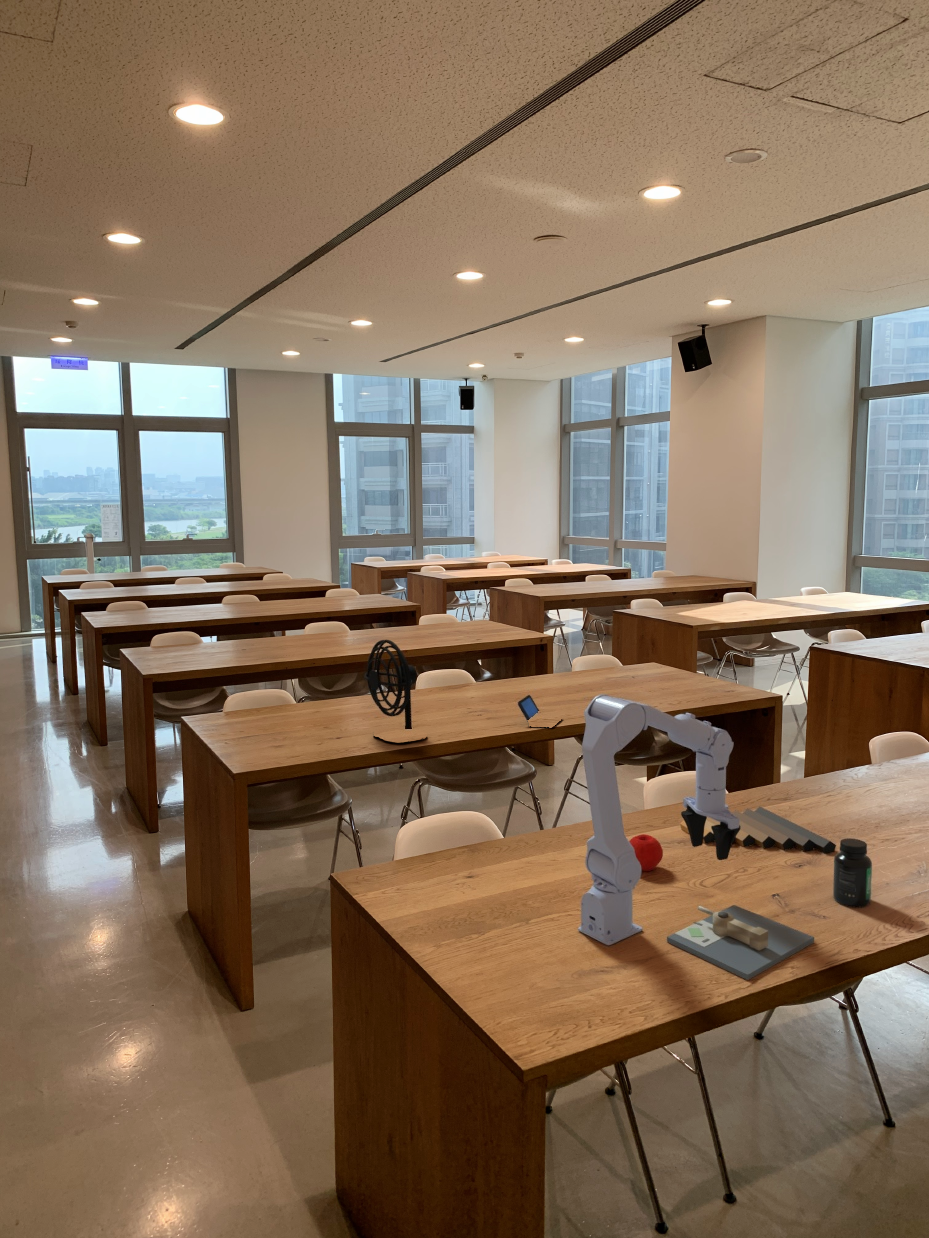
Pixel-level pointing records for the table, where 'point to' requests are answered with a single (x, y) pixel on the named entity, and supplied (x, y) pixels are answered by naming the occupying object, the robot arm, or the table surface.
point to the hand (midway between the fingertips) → (709, 852)
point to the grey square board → (741, 944)
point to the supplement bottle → (852, 874)
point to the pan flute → (769, 832)
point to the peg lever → (737, 929)
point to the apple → (647, 851)
